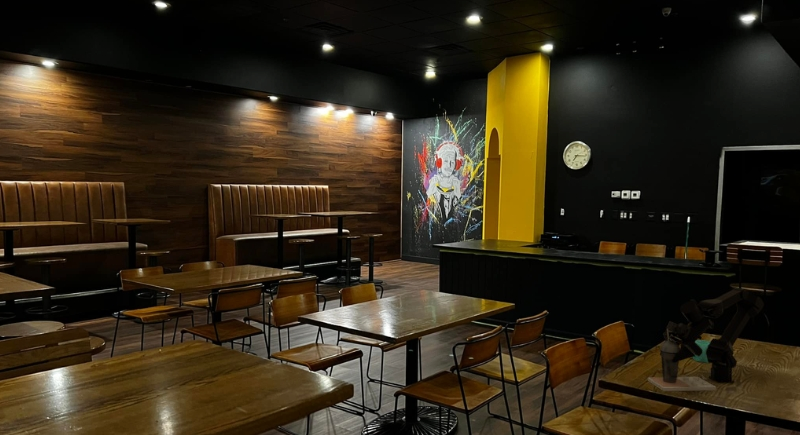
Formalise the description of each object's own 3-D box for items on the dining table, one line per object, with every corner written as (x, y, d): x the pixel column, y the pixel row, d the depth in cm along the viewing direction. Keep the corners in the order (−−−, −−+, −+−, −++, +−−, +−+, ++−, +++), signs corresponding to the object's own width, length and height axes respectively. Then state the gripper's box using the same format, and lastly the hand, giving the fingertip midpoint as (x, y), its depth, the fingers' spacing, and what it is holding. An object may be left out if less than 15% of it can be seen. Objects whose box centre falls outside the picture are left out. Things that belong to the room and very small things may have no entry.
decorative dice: (689, 358, 256) (689, 340, 256) (704, 357, 258) (704, 339, 258) (703, 363, 248) (703, 345, 248) (718, 362, 250) (718, 344, 250)
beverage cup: (682, 385, 215) (684, 331, 215) (661, 383, 217) (663, 330, 216) (677, 378, 223) (678, 327, 222) (657, 377, 224) (658, 326, 223)
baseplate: (697, 379, 226) (697, 374, 226) (716, 390, 214) (716, 384, 214) (647, 380, 225) (647, 375, 225) (663, 391, 213) (663, 385, 213)
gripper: (668, 309, 228) (640, 337, 228) (694, 319, 209) (664, 350, 209) (687, 329, 229) (659, 357, 228) (715, 341, 210) (685, 371, 210)
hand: (666, 358), depth 219 cm, fingers open, 8 cm apart
